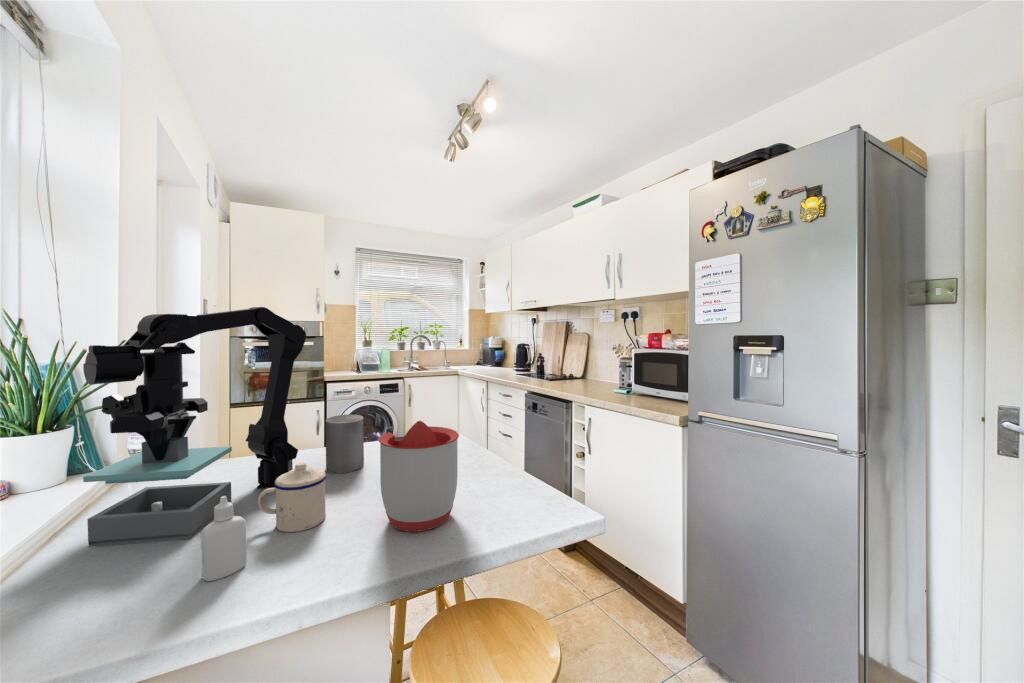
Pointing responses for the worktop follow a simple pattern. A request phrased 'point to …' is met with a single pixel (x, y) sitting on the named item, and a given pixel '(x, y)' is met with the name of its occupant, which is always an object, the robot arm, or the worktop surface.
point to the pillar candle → (344, 443)
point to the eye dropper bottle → (223, 543)
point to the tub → (157, 514)
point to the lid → (159, 464)
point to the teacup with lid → (298, 499)
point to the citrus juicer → (419, 476)
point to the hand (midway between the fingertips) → (165, 457)
